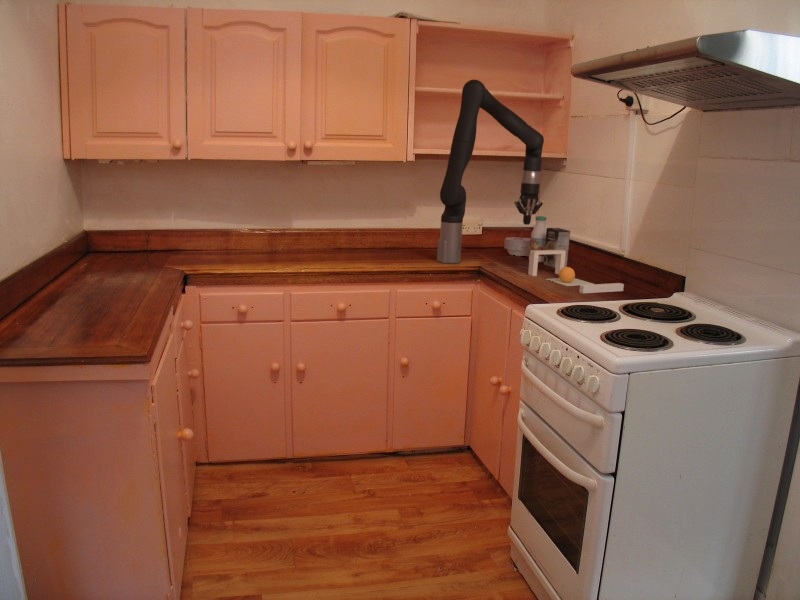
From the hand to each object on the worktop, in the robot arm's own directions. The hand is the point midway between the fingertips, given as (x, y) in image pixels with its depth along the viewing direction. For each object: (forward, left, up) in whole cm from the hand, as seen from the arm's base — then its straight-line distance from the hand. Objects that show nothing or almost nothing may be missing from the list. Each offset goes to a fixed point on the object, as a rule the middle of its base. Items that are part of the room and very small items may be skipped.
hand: (526, 224), depth 280 cm
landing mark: (0, -31, -18) cm, 36 cm away
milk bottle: (+17, +14, -18) cm, 28 cm away
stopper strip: (0, -49, -18) cm, 53 cm away
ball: (-3, -33, -15) cm, 36 cm away
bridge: (0, -16, -18) cm, 24 cm away
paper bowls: (+19, +31, -19) cm, 40 cm away
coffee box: (+17, +1, -18) cm, 25 cm away
